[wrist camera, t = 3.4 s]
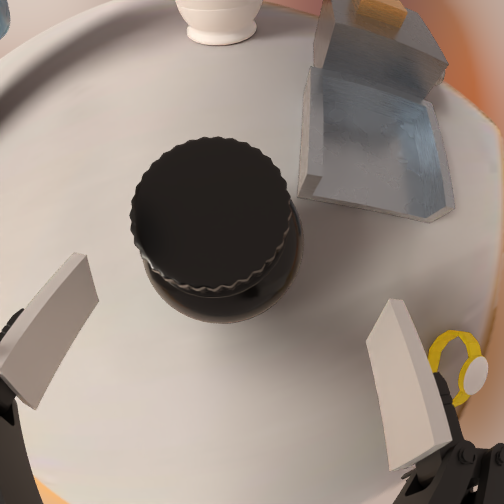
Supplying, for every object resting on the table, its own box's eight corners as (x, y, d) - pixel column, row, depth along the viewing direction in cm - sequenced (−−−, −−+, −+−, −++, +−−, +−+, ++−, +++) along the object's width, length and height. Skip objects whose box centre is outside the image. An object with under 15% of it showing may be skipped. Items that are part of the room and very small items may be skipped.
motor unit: (297, 197, 21) (339, 96, 10) (304, 41, 25) (319, -34, 14) (445, 227, 20) (532, 179, 10) (411, 71, 25) (446, 12, 14)
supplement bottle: (254, 207, 20) (265, 87, 9) (298, 292, 19) (374, 260, 7) (168, 247, 20) (83, 166, 8) (207, 335, 18) (149, 369, 7)
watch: (432, 396, 18) (473, 417, 12) (408, 396, 18) (449, 421, 12) (450, 329, 18) (497, 335, 13) (427, 326, 19) (475, 333, 13)
